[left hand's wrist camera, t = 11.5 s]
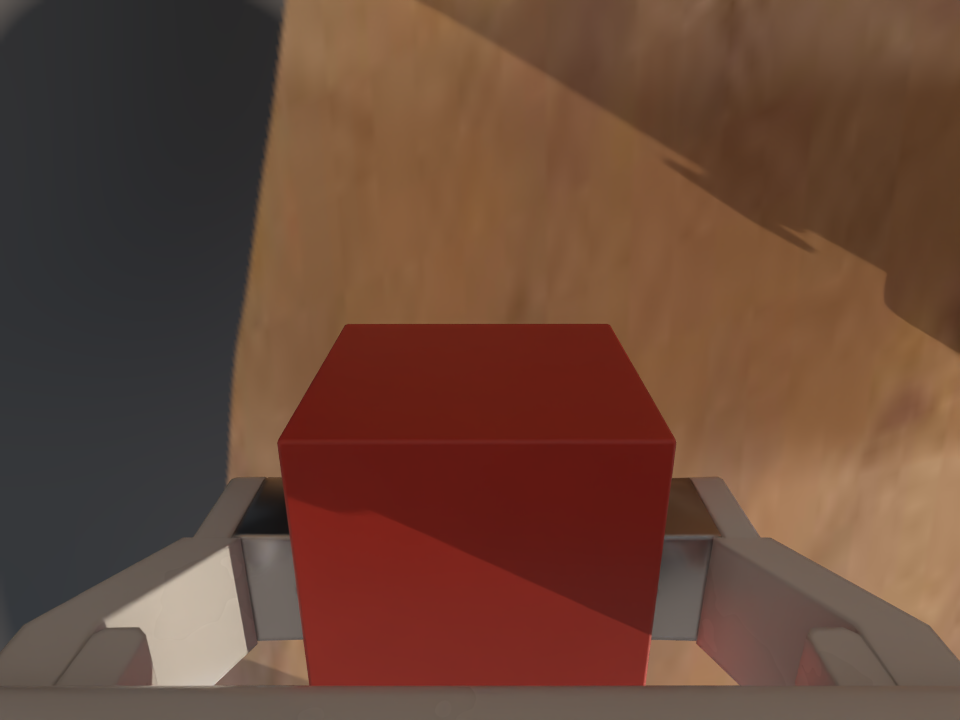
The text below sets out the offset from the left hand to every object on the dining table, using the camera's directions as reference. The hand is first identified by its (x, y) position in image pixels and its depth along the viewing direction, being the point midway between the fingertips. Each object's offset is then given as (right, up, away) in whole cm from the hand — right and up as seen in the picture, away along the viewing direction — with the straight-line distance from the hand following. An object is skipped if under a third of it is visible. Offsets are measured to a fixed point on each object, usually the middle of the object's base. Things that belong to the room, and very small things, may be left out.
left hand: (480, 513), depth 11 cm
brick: (0, +1, +2) cm, 2 cm away
